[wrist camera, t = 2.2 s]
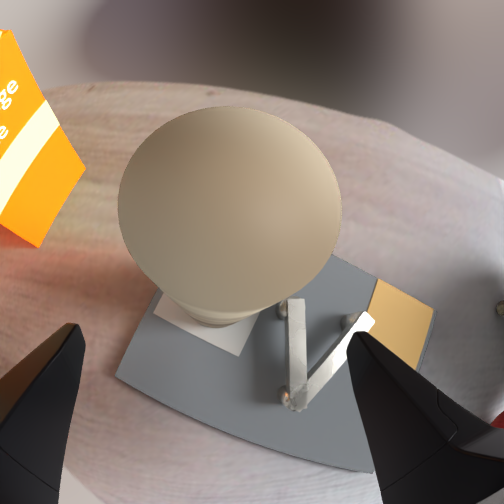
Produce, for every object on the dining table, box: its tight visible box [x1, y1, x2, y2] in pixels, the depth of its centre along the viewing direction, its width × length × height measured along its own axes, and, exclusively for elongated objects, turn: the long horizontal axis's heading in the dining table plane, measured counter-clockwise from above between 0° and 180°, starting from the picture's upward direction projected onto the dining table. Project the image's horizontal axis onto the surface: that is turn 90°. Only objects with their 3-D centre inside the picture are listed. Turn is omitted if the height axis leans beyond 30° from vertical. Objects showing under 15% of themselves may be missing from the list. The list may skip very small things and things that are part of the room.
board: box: [115, 254, 437, 474], centre depth 19 cm, size 14×20×1 cm
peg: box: [118, 106, 342, 328], centre depth 12 cm, size 4×4×14 cm
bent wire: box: [275, 296, 375, 413], centre depth 18 cm, size 7×6×2 cm
